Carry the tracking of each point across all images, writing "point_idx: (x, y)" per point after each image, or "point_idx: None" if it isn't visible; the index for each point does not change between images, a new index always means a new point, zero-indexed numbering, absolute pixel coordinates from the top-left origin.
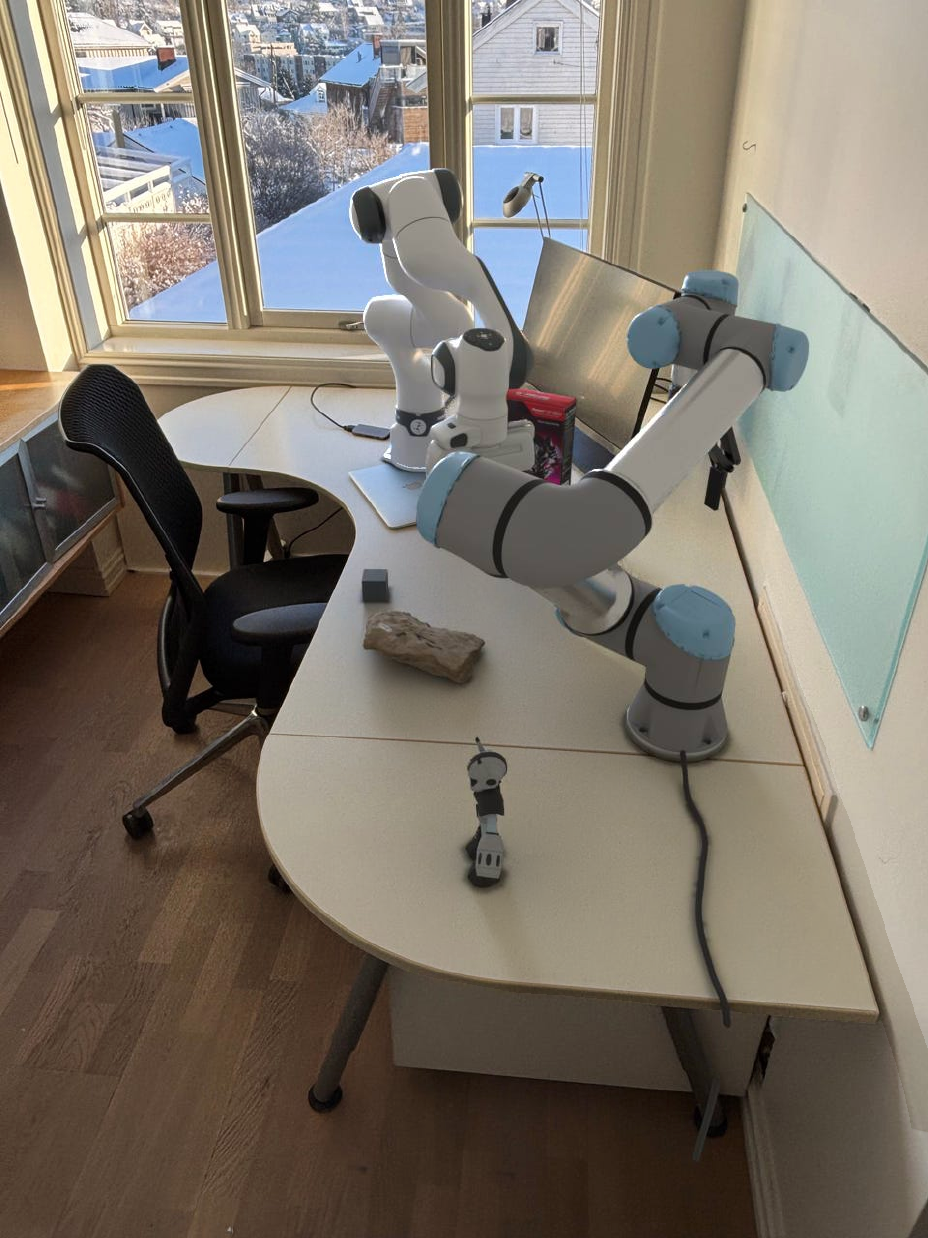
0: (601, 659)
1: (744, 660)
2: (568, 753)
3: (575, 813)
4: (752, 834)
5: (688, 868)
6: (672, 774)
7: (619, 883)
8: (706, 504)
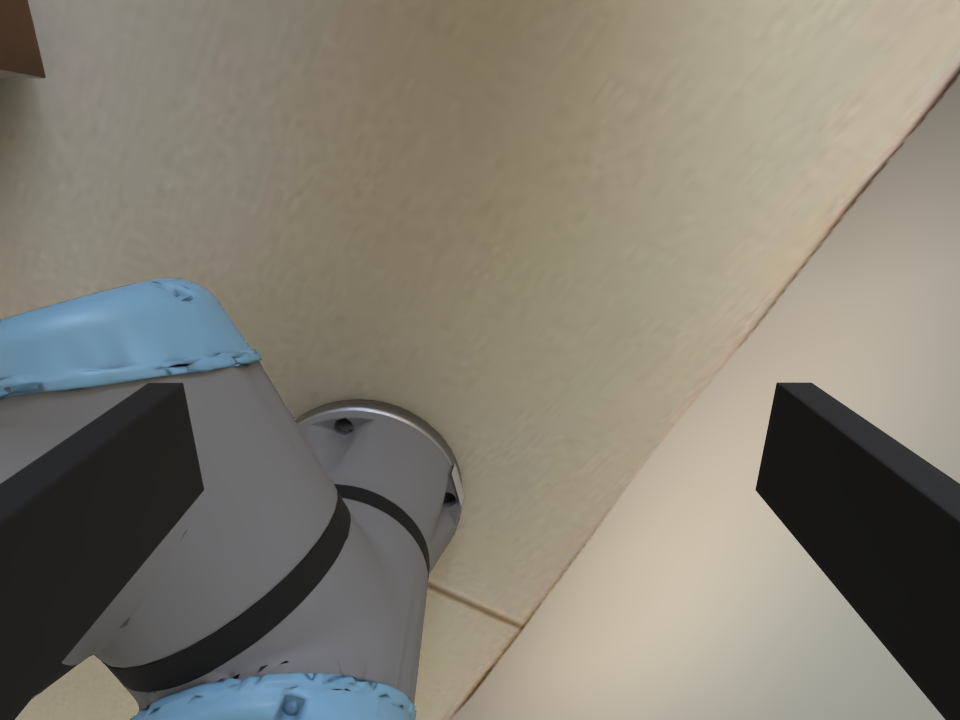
0: (334, 219)
1: (654, 365)
2: None
3: None
4: None
5: None
6: None
7: (120, 690)
8: (774, 412)
